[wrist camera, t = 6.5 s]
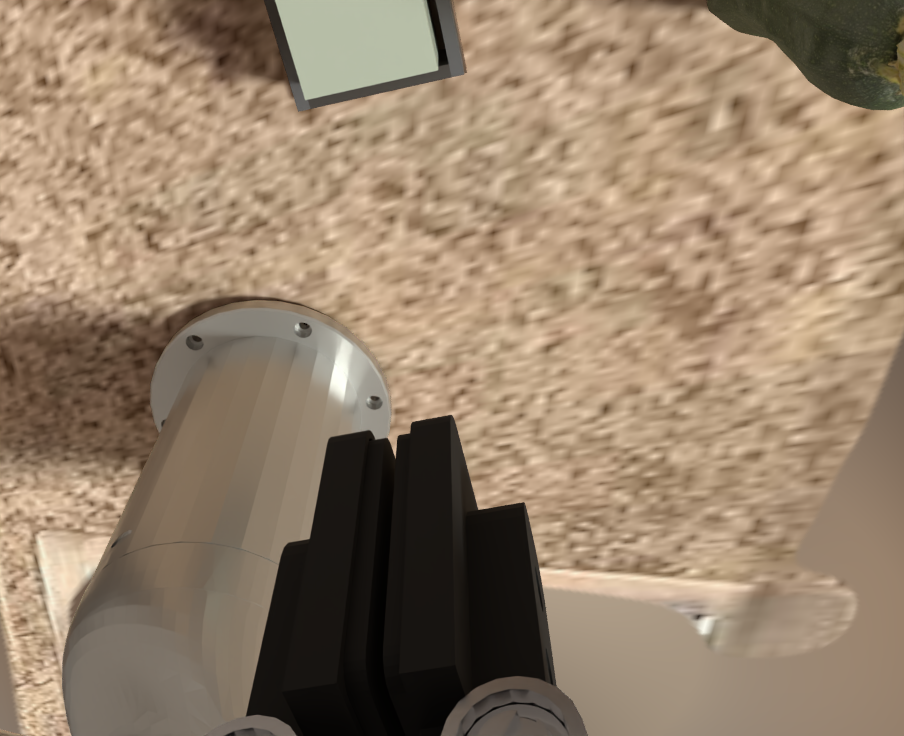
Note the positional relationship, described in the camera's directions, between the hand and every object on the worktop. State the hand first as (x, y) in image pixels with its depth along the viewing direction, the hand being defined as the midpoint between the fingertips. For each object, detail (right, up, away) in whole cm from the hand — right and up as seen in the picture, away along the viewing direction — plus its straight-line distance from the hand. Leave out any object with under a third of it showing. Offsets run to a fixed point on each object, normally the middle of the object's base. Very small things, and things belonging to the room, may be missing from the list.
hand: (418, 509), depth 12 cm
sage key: (-3, +16, +21) cm, 27 cm away
